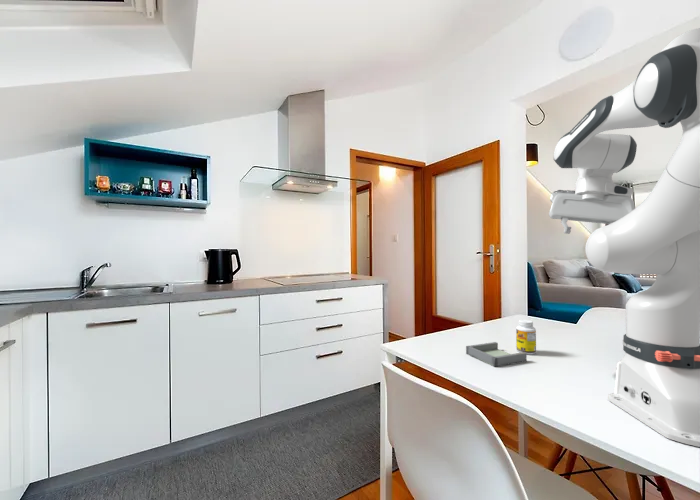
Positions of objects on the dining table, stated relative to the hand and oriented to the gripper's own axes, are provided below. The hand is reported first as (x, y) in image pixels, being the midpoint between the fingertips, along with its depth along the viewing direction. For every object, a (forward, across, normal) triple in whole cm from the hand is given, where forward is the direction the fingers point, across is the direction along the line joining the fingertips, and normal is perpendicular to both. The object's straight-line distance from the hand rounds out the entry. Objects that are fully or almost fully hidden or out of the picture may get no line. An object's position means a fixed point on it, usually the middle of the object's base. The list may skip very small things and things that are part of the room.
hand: (586, 235), depth 91 cm
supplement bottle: (+38, -9, +12) cm, 41 cm away
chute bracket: (+42, -18, +4) cm, 45 cm away
